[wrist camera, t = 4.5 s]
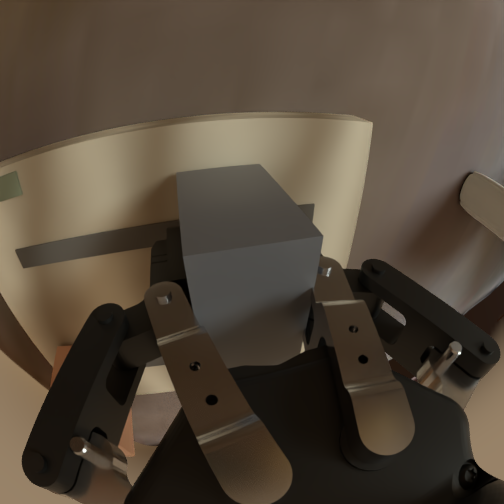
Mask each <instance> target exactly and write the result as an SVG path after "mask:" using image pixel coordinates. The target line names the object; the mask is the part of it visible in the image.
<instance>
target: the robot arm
mask: <svg viewBox="0 0 504 504" xmlns="http://www.w3.org/2000/svg"><path fill="white" fill-rule="evenodd" d="M166 230H167V239H165V240H159V241H156V242H155V244H154V245H153V247H152V248H151V264H150V288H148V289H147V291H146V292H145V294H144V300H143V301H141V302H140V303H138V304H137V305H135V306H132V307H130V308H127V309H125V310H123V308H122V307H121V306H120V305H118V304H115V303H106V304H103V305H100V306H98V307H97V308H95V309H94V310H93V311H92V312H91V314H90V315H89V317H88V319H87V320H86V322H85V324H84V325H83V327H82V329H81V331H80V332H79V334H78V336H77V338H76V340H75V341H74V343H73V345H72V347H71V349H70V350H69V352H68V354H67V356H66V358H65V360H64V362H63V364H62V366H61V368H60V370H59V372H58V374H57V376H56V378H55V380H54V382H53V384H52V386H51V388H50V390H49V392H48V394H47V396H46V399H45V401H44V403H43V405H42V407H41V410H40V412H39V414H38V417H37V419H36V421H35V424H34V426H33V428H32V431H31V433H30V436H29V439H28V441H27V444H26V447H25V449H24V452H23V455H22V467H23V470H24V473H25V475H26V476H27V478H28V479H29V480H30V481H31V482H32V483H33V484H35V485H37V486H39V487H42V488H45V489H47V490H50V491H51V492H53V493H55V494H59V495H62V496H65V497H68V498H72V499H75V500H77V501H78V502H80V503H82V504H504V481H502V480H500V479H498V478H496V477H493V476H492V475H490V474H488V473H487V472H485V471H484V470H482V469H481V468H480V467H479V466H478V465H477V463H476V462H475V460H474V457H473V453H472V449H471V443H470V432H469V422H468V419H467V416H466V414H465V412H464V408H465V407H466V405H467V403H468V401H469V399H470V398H471V396H472V394H473V392H474V390H475V388H476V386H477V384H478V382H479V381H480V380H481V379H482V378H483V377H484V376H485V375H486V374H487V373H488V372H489V371H490V370H491V369H492V367H493V366H494V365H495V364H496V363H497V362H498V361H499V358H500V349H499V346H498V344H497V343H496V341H495V340H494V339H492V337H490V336H489V335H488V334H486V333H485V332H484V331H483V330H481V329H480V328H479V327H477V326H476V325H475V324H473V323H472V322H471V321H469V320H468V319H467V318H465V317H464V316H463V315H461V314H460V313H459V312H457V311H456V310H454V309H453V308H452V307H450V306H449V305H448V304H446V303H445V302H443V301H442V300H441V299H439V298H438V297H436V296H435V295H433V294H432V293H431V292H429V291H428V290H426V289H425V288H423V287H422V286H420V285H419V284H417V283H416V282H414V281H413V280H412V279H410V278H409V277H407V276H406V275H404V274H403V273H401V272H400V271H398V270H396V269H395V268H393V267H392V266H390V265H389V264H387V263H386V262H384V261H381V260H377V259H369V260H366V261H364V262H363V264H362V266H361V270H358V269H343V268H342V266H341V265H340V263H339V262H337V261H336V260H334V259H332V258H330V257H325V256H323V255H322V254H320V260H319V266H318V271H317V277H316V282H315V287H312V291H311V296H310V300H311V307H310V312H309V316H308V321H307V326H306V328H305V329H304V331H303V336H302V338H303V343H304V349H305V351H304V352H302V353H300V354H298V355H297V356H295V357H293V358H291V359H289V360H287V361H285V362H283V363H281V364H279V365H262V366H251V365H243V366H238V367H233V368H228V369H227V367H226V365H225V363H224V362H223V360H222V358H221V356H220V354H219V353H218V351H217V349H216V347H215V345H214V343H213V342H212V340H211V338H210V336H209V334H208V332H207V330H206V329H205V327H204V326H200V325H199V323H198V321H197V319H196V317H195V315H194V313H193V308H192V303H191V298H190V293H189V288H188V282H187V277H186V271H185V266H184V260H183V253H182V243H181V232H180V226H176V227H169V228H167V229H166ZM384 301H385V302H386V303H388V304H389V305H390V306H392V307H393V308H395V309H396V310H397V311H399V312H400V313H401V314H403V316H404V317H405V319H406V325H405V326H404V325H402V324H401V323H400V322H398V321H397V320H396V319H394V318H393V317H392V316H390V315H389V314H388V313H386V312H385V311H384V310H382V309H381V307H382V305H383V303H384ZM385 352H386V353H387V354H388V355H389V356H391V357H392V358H393V359H394V360H396V361H397V362H398V363H399V364H401V365H402V366H403V367H404V368H405V369H407V370H408V371H409V372H410V373H412V374H413V375H414V376H415V377H416V378H417V380H418V382H419V383H417V382H415V381H413V380H411V379H409V378H407V377H405V376H403V375H401V374H399V373H397V372H395V371H393V370H391V368H390V365H389V362H388V359H387V357H386V354H385ZM159 357H162V358H163V361H164V363H165V366H166V369H167V371H168V374H169V376H170V379H171V381H172V384H173V386H174V389H175V391H176V394H177V396H178V398H179V401H180V403H181V405H182V407H181V409H180V411H179V412H178V414H177V416H176V417H175V419H174V421H173V422H172V424H171V425H170V427H169V429H168V430H167V432H166V434H165V435H164V437H163V439H162V440H161V442H160V443H159V445H158V447H157V448H156V450H155V452H154V453H153V455H152V456H151V458H150V460H149V461H148V463H147V464H146V466H145V468H144V469H143V471H142V472H141V474H140V476H139V477H138V479H137V480H136V482H135V483H134V485H133V487H132V485H131V484H130V482H129V480H128V477H127V459H126V456H125V454H124V453H123V451H122V450H121V449H120V448H118V445H119V442H120V439H121V436H122V433H123V430H124V427H125V424H126V421H127V418H128V415H129V412H130V409H131V406H132V403H133V400H134V397H135V395H136V392H137V389H138V386H139V383H140V381H141V378H142V375H143V373H144V370H145V367H146V363H148V362H150V361H153V360H155V359H157V358H159Z"/></svg>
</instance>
